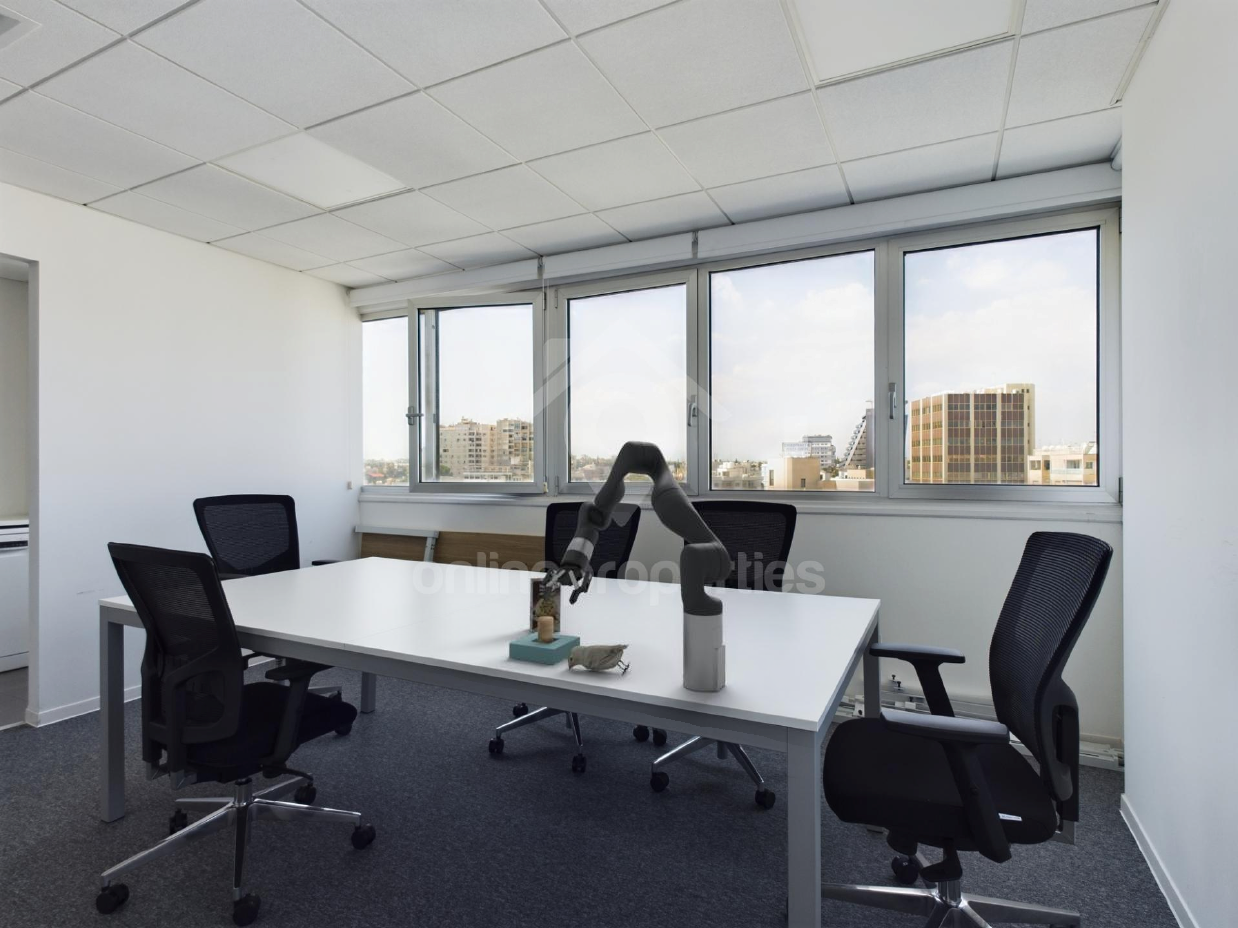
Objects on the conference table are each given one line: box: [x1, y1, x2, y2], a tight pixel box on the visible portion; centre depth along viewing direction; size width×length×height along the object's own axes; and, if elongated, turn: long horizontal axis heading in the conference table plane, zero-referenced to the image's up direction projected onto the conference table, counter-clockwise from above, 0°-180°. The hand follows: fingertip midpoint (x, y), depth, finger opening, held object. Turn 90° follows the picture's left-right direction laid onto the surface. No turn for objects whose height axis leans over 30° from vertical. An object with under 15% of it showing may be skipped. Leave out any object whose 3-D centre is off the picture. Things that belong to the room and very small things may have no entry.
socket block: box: [508, 632, 581, 666], centre depth 177 cm, size 14×14×4 cm
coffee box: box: [529, 577, 562, 633], centre depth 206 cm, size 9×6×16 cm
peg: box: [538, 616, 554, 644], centre depth 178 cm, size 4×4×10 cm
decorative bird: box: [567, 643, 631, 676], centre depth 163 cm, size 5×16×8 cm, turn 74°
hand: (558, 601), depth 184 cm, fingers open, 8 cm apart
